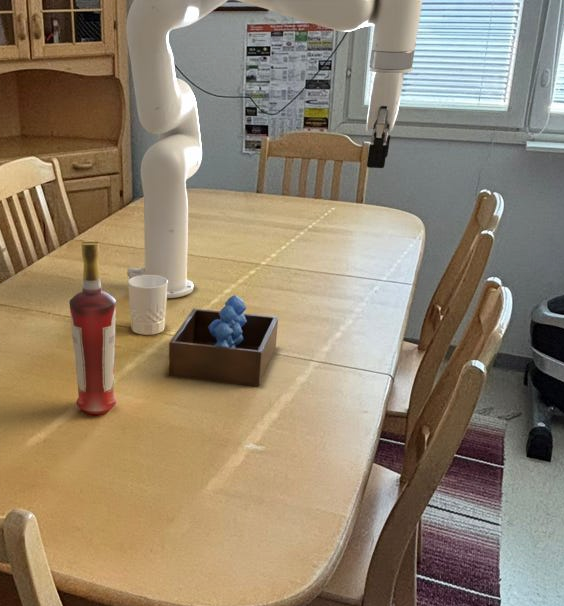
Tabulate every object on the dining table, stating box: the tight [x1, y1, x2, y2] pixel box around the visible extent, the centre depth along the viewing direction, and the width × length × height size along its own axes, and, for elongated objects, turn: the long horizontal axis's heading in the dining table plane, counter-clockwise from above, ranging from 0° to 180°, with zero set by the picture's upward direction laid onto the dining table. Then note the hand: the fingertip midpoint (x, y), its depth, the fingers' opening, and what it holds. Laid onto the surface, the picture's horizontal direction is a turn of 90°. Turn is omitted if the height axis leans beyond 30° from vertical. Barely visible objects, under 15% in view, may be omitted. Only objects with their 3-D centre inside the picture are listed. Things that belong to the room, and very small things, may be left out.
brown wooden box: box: [168, 308, 279, 387], centre depth 159 cm, size 17×18×6 cm
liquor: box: [69, 239, 118, 416], centre depth 137 cm, size 7×7×28 cm
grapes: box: [208, 294, 247, 348], centre depth 157 cm, size 12×7×12 cm, turn 154°
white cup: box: [127, 275, 168, 336], centre depth 172 cm, size 8×8×10 cm
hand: (377, 162), depth 164 cm, fingers open, 9 cm apart
